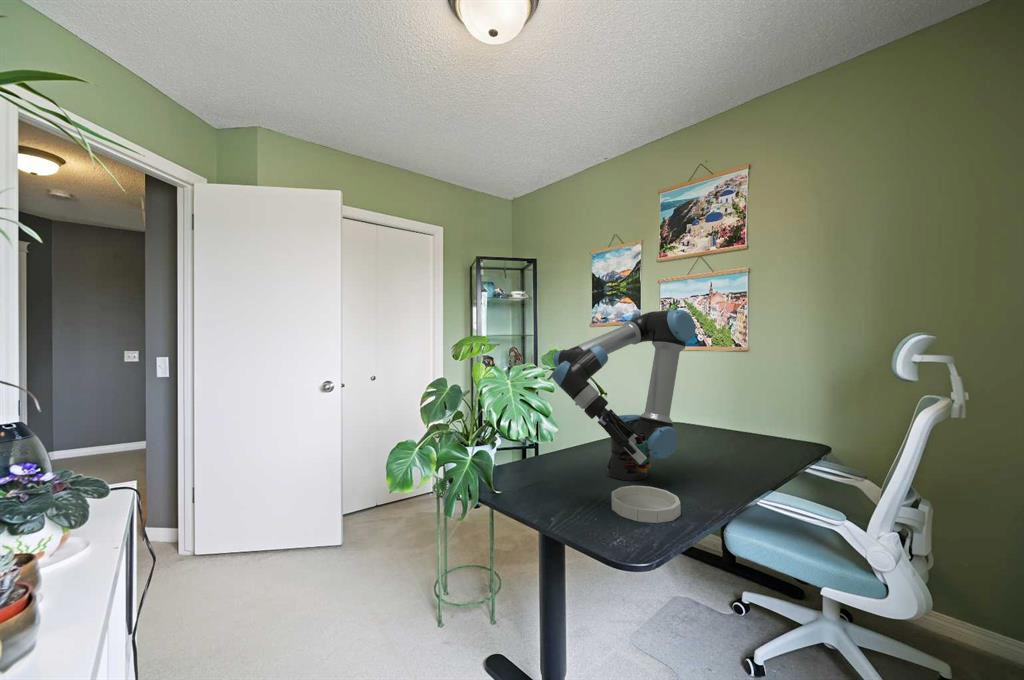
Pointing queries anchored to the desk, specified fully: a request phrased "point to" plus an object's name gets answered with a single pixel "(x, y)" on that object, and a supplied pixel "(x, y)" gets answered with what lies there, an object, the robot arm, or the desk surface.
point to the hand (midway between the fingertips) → (645, 456)
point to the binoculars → (643, 447)
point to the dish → (645, 504)
